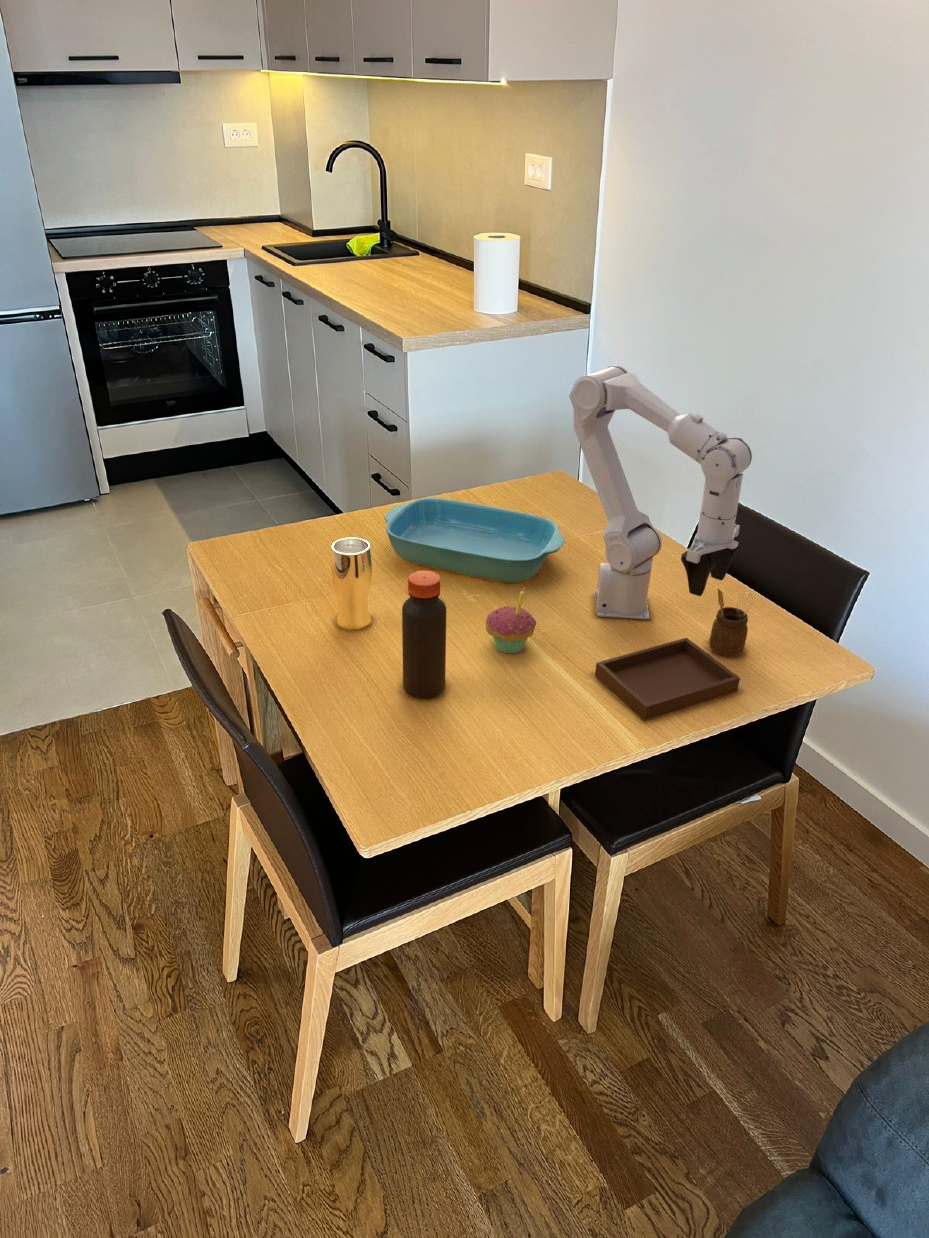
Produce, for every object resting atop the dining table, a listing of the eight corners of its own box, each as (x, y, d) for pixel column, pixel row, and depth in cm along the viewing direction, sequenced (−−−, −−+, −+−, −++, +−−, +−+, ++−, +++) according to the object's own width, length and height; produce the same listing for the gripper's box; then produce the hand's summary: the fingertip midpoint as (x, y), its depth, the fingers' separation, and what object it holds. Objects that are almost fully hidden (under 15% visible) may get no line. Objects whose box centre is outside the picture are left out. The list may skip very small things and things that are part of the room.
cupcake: (539, 639, 164) (544, 578, 158) (526, 664, 157) (530, 602, 151) (492, 629, 167) (495, 570, 160) (477, 654, 160) (479, 592, 153)
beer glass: (380, 616, 169) (378, 542, 162) (360, 635, 164) (357, 558, 156) (347, 608, 172) (343, 533, 164) (326, 625, 166) (322, 549, 159)
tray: (644, 720, 145) (646, 707, 143) (594, 675, 155) (596, 662, 154) (737, 691, 152) (740, 677, 151) (684, 650, 162) (686, 637, 161)
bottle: (417, 671, 155) (417, 563, 144) (453, 683, 152) (455, 574, 142) (394, 691, 150) (392, 581, 139) (430, 704, 147) (431, 593, 136)
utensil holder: (749, 656, 161) (762, 595, 155) (715, 659, 160) (727, 598, 154) (734, 638, 166) (746, 578, 160) (701, 641, 165) (712, 581, 159)
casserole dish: (573, 550, 195) (576, 518, 191) (544, 599, 177) (547, 565, 173) (409, 520, 205) (409, 490, 201) (366, 564, 187) (365, 532, 183)
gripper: (719, 533, 147) (707, 609, 154) (760, 506, 156) (747, 578, 163) (679, 521, 151) (669, 595, 158) (722, 495, 160) (710, 566, 167)
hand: (706, 586), depth 161 cm, fingers open, 7 cm apart
